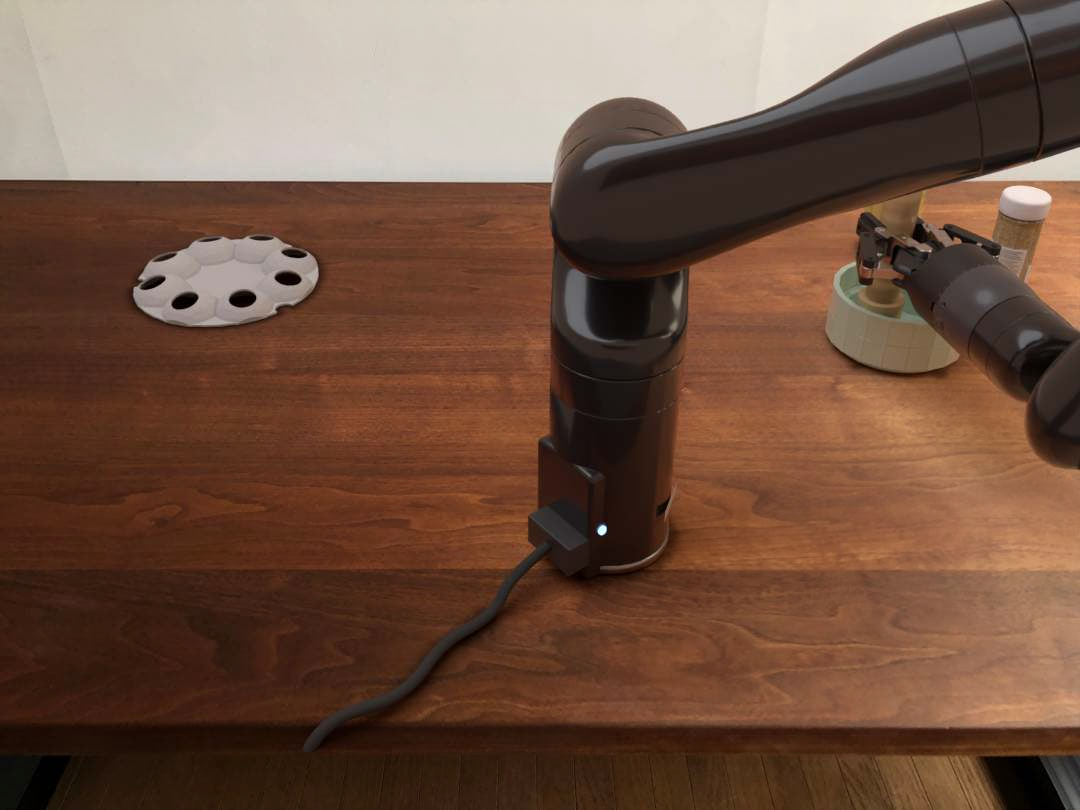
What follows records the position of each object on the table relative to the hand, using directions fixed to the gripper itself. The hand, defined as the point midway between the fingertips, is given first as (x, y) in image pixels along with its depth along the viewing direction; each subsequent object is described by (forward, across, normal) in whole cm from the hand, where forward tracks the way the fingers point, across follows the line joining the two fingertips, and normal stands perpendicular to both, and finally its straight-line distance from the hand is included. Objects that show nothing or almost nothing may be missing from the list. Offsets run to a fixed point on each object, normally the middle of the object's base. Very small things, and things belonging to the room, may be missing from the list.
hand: (880, 219), depth 101 cm
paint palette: (+23, +63, +12) cm, 68 cm away
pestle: (-3, 0, +9) cm, 9 cm away
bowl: (-4, -2, +12) cm, 12 cm away
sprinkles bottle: (-1, -15, +12) cm, 19 cm away
